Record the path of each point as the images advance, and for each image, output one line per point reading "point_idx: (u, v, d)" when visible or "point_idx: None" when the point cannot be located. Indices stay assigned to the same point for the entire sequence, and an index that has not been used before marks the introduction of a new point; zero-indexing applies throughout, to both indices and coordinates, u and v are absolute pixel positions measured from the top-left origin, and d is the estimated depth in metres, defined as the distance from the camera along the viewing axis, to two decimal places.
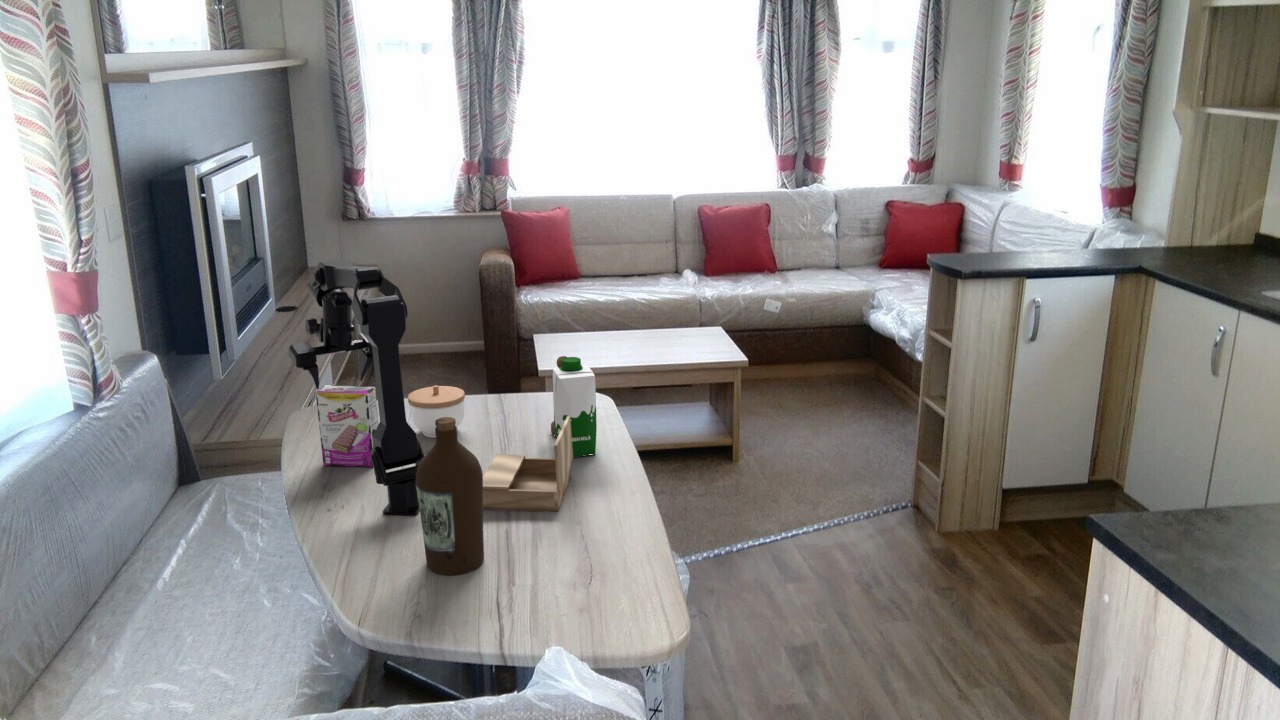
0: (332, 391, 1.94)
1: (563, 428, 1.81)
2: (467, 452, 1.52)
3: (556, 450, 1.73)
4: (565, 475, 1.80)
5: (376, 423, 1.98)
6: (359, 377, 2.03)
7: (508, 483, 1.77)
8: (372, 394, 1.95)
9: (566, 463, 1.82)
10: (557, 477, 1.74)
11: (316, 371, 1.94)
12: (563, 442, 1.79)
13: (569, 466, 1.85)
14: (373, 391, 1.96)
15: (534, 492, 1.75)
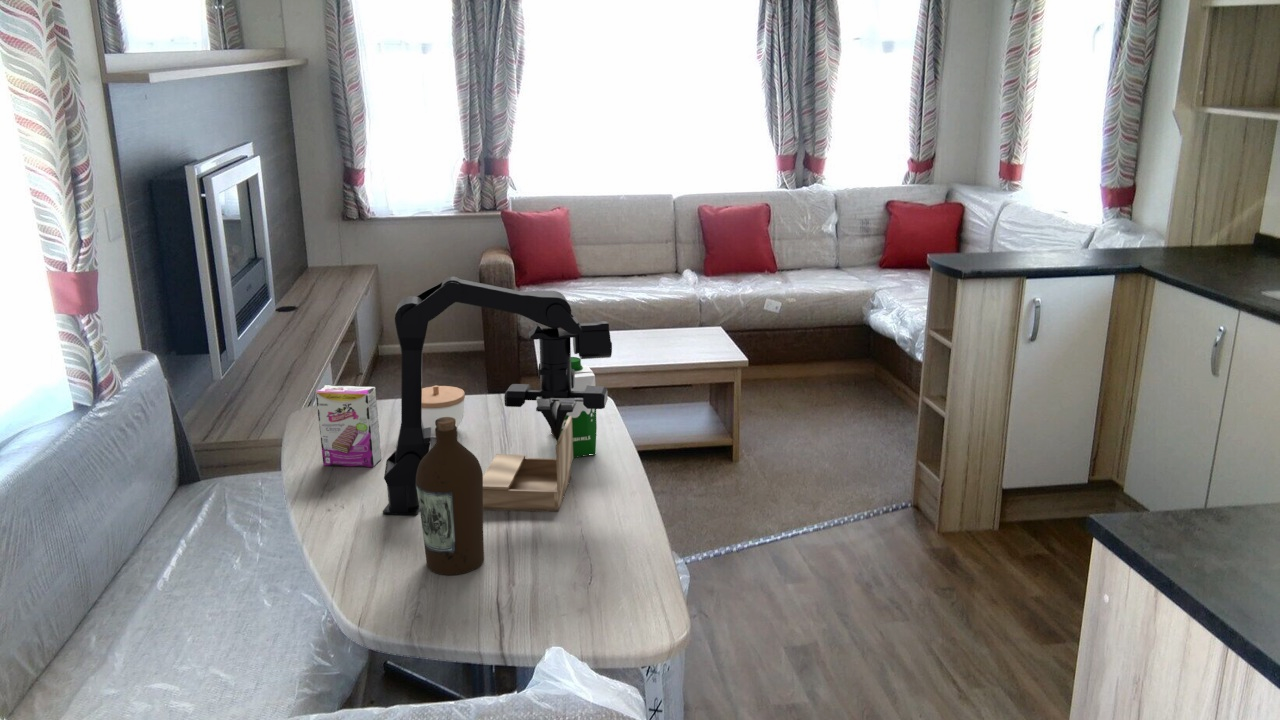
0: (332, 391, 1.94)
1: (565, 428, 1.81)
2: (467, 452, 1.52)
3: (558, 450, 1.73)
4: (565, 475, 1.80)
5: (376, 423, 1.98)
6: None
7: (508, 483, 1.77)
8: (372, 394, 1.95)
9: (566, 463, 1.82)
10: (558, 477, 1.74)
11: (550, 415, 1.77)
12: (564, 442, 1.79)
13: (569, 466, 1.85)
14: (373, 391, 1.96)
15: (534, 492, 1.75)
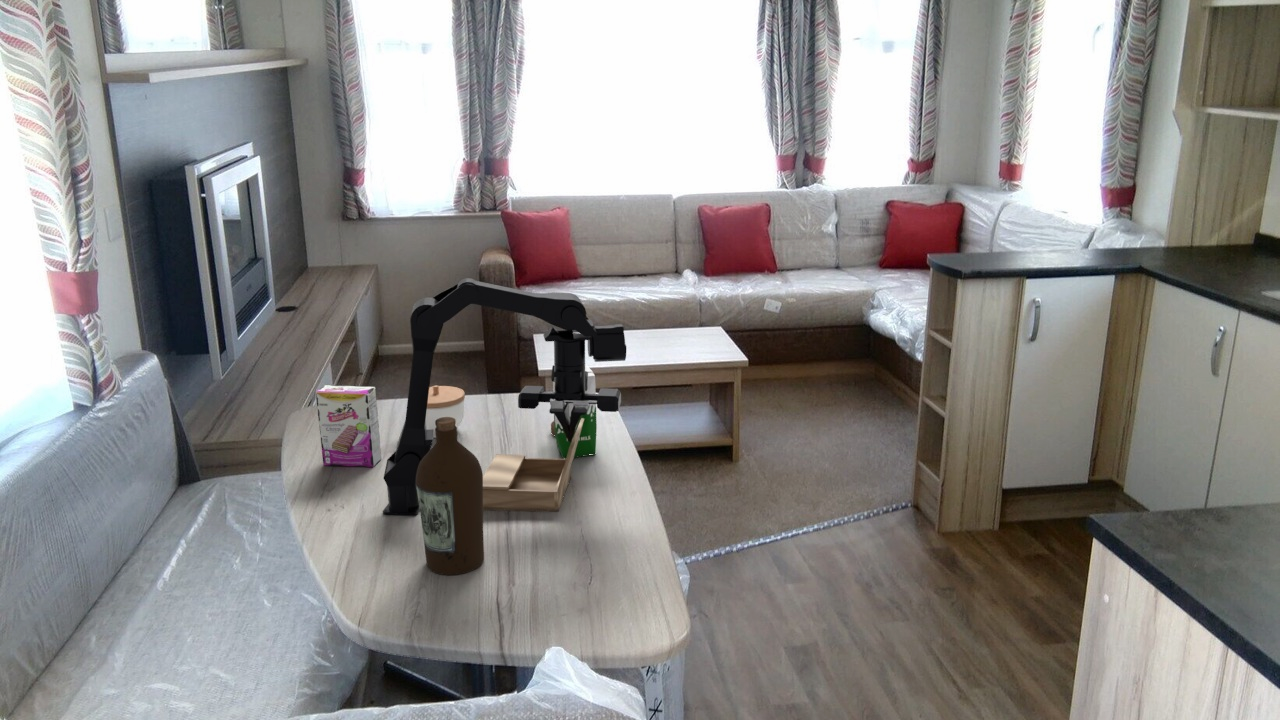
0: (332, 391, 1.94)
1: (578, 431, 1.81)
2: (467, 452, 1.52)
3: (570, 453, 1.73)
4: (566, 476, 1.80)
5: (376, 423, 1.98)
6: None
7: (508, 483, 1.77)
8: (372, 394, 1.95)
9: None
10: (562, 478, 1.74)
11: (563, 418, 1.77)
12: (575, 445, 1.79)
13: (569, 467, 1.85)
14: (373, 391, 1.96)
15: (534, 492, 1.75)
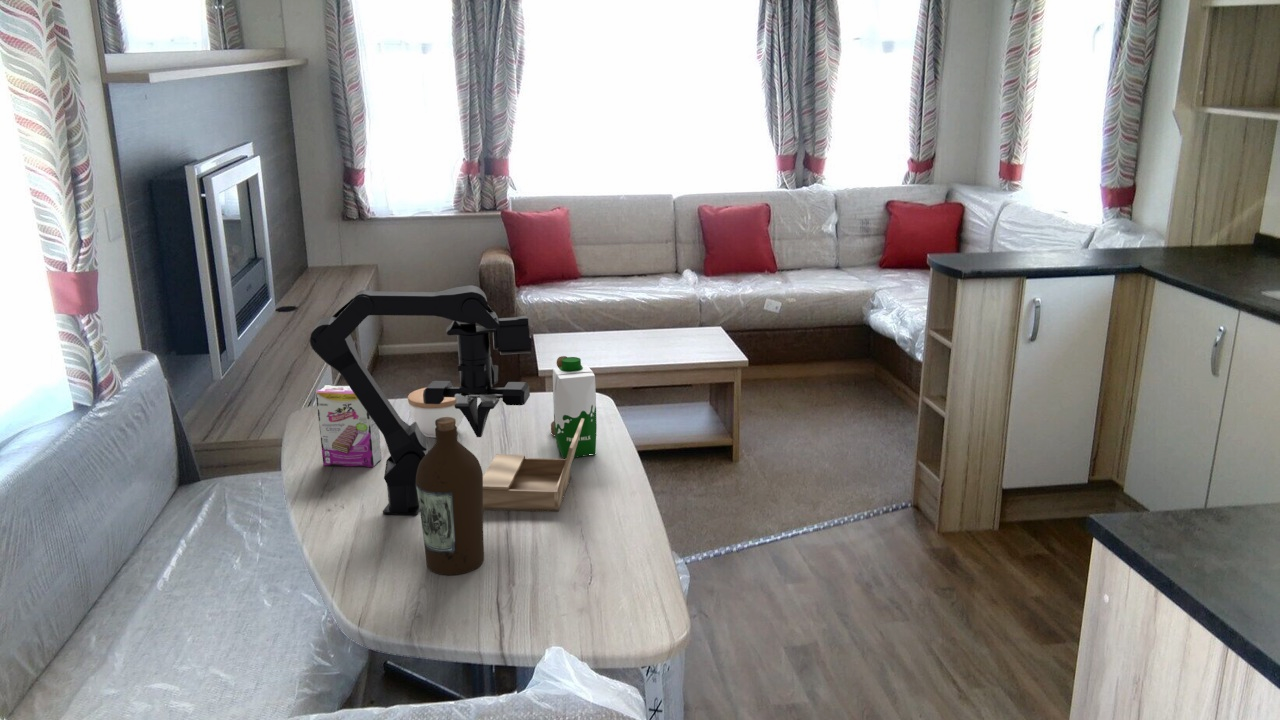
0: (332, 391, 1.94)
1: (578, 431, 1.81)
2: (467, 452, 1.52)
3: (570, 453, 1.73)
4: (566, 476, 1.80)
5: None
6: None
7: (508, 483, 1.77)
8: None
9: (569, 464, 1.82)
10: (562, 478, 1.74)
11: (469, 412, 1.73)
12: None
13: (569, 467, 1.85)
14: None
15: (534, 492, 1.75)
